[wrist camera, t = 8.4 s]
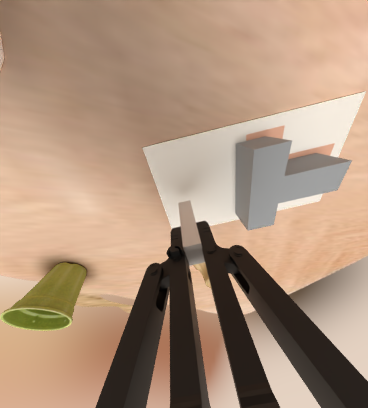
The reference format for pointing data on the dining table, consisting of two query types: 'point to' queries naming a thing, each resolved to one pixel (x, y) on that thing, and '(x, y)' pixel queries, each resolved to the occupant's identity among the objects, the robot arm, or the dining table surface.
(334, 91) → the dining table surface
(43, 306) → the plant pot
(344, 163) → the T block
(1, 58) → the decorative candle
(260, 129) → the board
